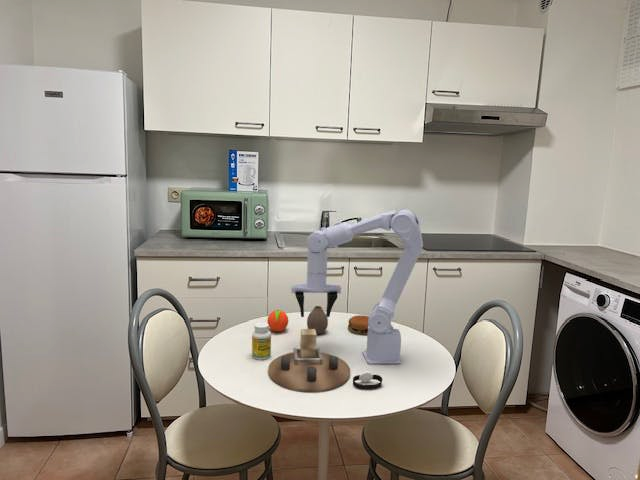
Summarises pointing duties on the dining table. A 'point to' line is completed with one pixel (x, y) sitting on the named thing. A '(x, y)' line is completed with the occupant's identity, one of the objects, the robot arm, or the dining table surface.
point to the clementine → (277, 320)
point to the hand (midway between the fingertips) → (315, 316)
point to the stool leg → (308, 343)
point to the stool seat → (309, 372)
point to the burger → (358, 324)
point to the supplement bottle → (261, 341)
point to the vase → (317, 320)
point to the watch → (367, 380)
